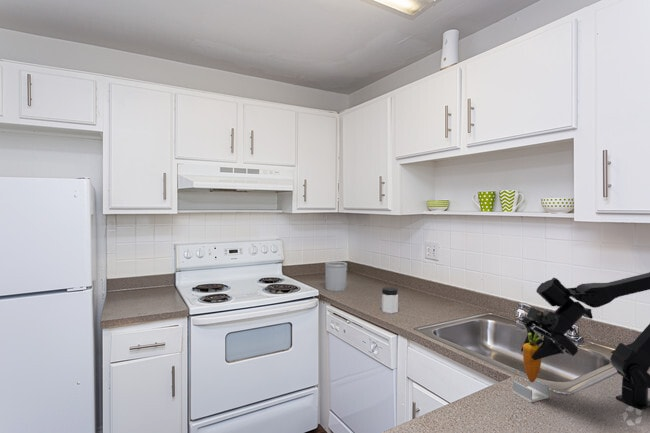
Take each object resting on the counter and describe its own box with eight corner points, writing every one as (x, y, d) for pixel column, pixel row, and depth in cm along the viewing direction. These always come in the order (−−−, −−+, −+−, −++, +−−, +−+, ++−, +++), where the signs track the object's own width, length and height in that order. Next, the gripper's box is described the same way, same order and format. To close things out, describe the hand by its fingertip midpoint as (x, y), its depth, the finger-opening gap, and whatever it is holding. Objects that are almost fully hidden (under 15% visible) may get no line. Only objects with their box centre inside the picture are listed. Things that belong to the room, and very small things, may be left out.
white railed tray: (530, 388, 112) (530, 377, 112) (548, 397, 107) (548, 386, 107) (512, 392, 110) (512, 381, 109) (530, 402, 104) (530, 390, 104)
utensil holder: (349, 290, 242) (350, 264, 241) (328, 291, 237) (328, 265, 237) (342, 286, 256) (343, 261, 255) (322, 287, 252) (322, 261, 251)
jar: (380, 308, 199) (380, 286, 199) (395, 308, 200) (395, 286, 199) (383, 313, 190) (383, 290, 190) (399, 313, 191) (399, 290, 190)
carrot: (534, 378, 111) (535, 329, 110) (545, 386, 106) (545, 335, 105) (518, 378, 110) (519, 329, 110) (528, 386, 105) (529, 335, 105)
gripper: (527, 291, 117) (493, 326, 117) (567, 307, 98) (527, 348, 98) (551, 315, 117) (516, 350, 117) (595, 336, 99) (555, 377, 99)
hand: (527, 355), depth 108 cm, fingers closed on carrot, 5 cm apart
